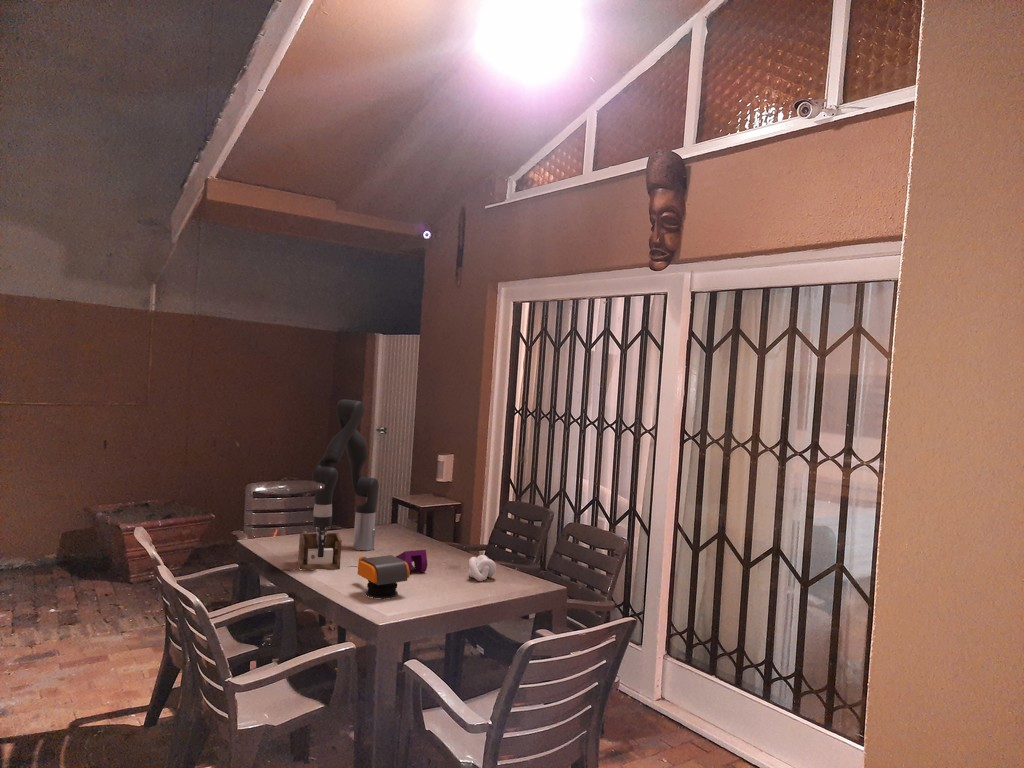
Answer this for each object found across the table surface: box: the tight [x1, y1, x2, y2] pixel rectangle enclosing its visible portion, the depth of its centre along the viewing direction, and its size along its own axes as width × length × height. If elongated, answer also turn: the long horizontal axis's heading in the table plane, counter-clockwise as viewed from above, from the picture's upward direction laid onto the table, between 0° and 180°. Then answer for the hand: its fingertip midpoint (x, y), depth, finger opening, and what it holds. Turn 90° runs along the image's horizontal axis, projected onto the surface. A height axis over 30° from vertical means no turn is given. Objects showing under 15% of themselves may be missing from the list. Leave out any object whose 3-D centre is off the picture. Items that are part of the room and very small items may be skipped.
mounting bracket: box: [395, 549, 428, 574], centre depth 293 cm, size 10×8×18 cm
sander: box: [357, 554, 411, 600], centre depth 261 cm, size 15×25×13 cm, turn 39°
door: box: [307, 548, 333, 564], centre depth 286 cm, size 10×4×8 cm, turn 110°
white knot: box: [468, 554, 497, 582], centre depth 285 cm, size 11×12×9 cm
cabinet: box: [297, 532, 343, 570], centre depth 290 cm, size 16×14×12 cm
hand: (320, 555), depth 287 cm, fingers open, 4 cm apart
